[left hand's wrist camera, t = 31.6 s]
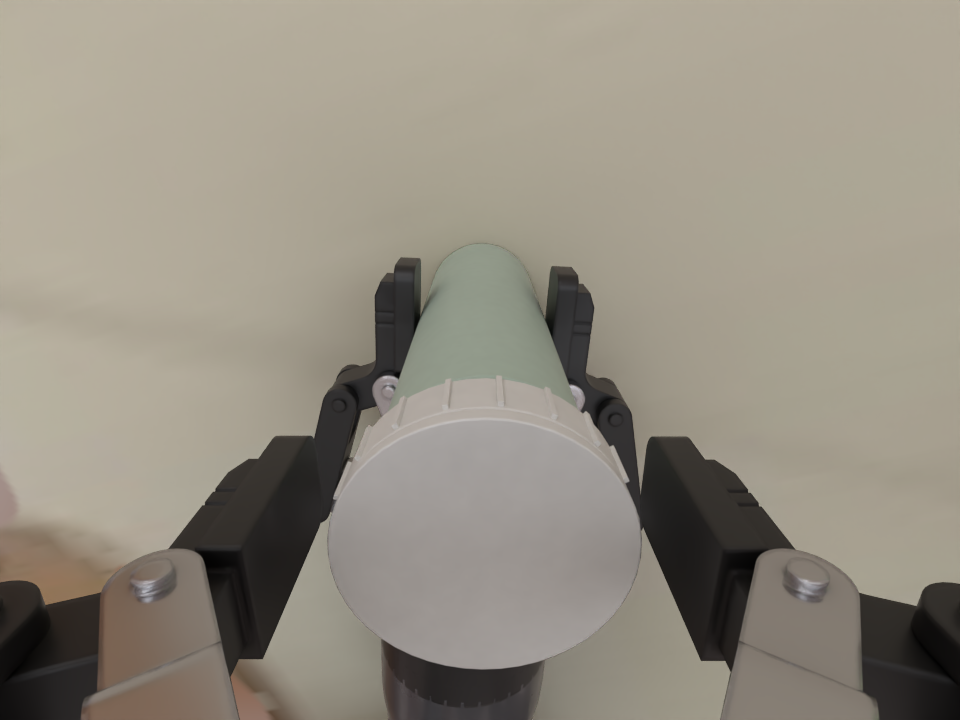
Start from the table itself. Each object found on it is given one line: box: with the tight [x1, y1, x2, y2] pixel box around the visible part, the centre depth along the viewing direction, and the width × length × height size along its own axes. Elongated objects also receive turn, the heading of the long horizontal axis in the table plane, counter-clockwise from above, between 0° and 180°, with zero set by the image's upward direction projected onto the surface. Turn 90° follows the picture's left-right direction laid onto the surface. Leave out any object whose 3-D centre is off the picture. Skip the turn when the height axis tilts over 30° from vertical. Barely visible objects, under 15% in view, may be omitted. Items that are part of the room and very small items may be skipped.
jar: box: [388, 244, 578, 411], centre depth 18 cm, size 5×5×17 cm
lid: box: [328, 375, 642, 669], centre depth 10 cm, size 6×6×2 cm
